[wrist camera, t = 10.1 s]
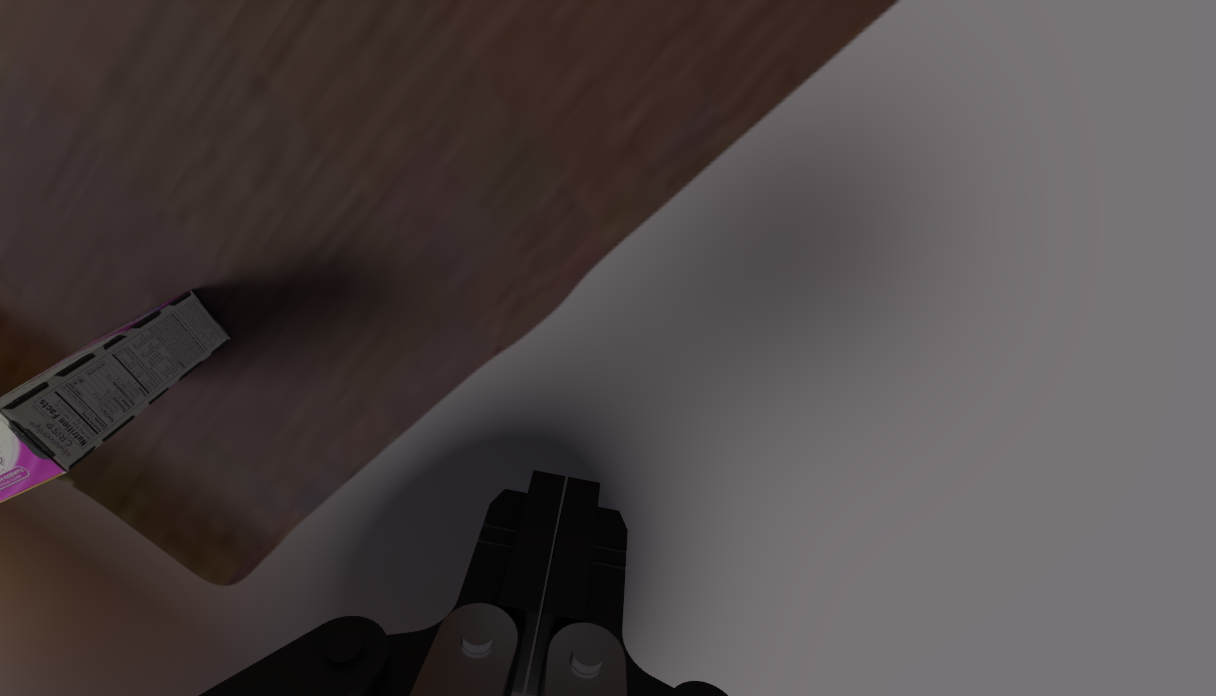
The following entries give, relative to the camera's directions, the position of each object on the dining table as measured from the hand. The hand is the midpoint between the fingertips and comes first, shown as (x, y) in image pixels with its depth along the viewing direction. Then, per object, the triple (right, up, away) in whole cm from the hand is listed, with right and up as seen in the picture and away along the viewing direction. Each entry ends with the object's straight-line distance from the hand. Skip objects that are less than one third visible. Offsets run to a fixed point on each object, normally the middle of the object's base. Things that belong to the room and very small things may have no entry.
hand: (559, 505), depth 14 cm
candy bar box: (-34, +4, +36) cm, 50 cm away
